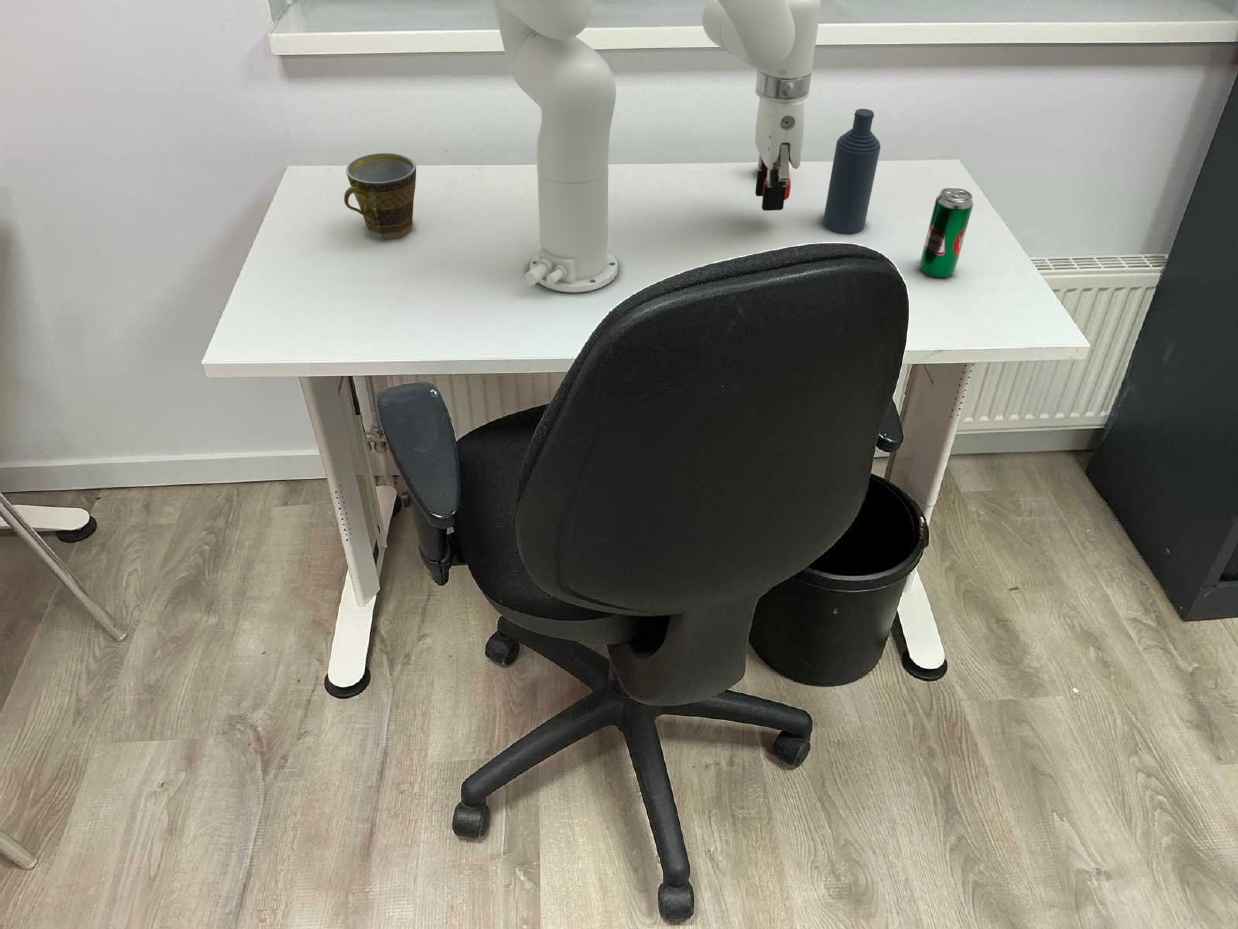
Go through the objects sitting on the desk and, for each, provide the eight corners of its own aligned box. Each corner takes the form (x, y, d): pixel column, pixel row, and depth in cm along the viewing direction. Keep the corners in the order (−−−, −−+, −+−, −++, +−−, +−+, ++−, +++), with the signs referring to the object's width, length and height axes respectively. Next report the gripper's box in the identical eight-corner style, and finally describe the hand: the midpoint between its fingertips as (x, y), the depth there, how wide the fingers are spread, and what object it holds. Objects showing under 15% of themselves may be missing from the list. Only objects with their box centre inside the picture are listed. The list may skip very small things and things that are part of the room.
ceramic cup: (386, 208, 156) (377, 146, 149) (436, 225, 152) (430, 163, 146) (328, 242, 148) (316, 179, 141) (380, 261, 144) (370, 197, 137)
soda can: (911, 264, 146) (930, 188, 138) (940, 259, 148) (961, 183, 140) (931, 281, 143) (951, 204, 135) (961, 275, 144) (982, 199, 136)
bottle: (864, 235, 153) (888, 122, 141) (822, 231, 153) (842, 118, 142) (863, 216, 157) (886, 105, 146) (823, 212, 158) (842, 101, 146)
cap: (767, 187, 153) (768, 173, 152) (791, 192, 152) (793, 177, 150) (759, 198, 150) (761, 183, 149) (784, 203, 149) (786, 188, 148)
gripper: (824, 104, 134) (806, 227, 146) (794, 59, 146) (780, 176, 158) (770, 106, 133) (756, 230, 145) (744, 61, 146) (734, 178, 158)
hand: (768, 201), depth 152 cm, fingers closed on cap, 3 cm apart
